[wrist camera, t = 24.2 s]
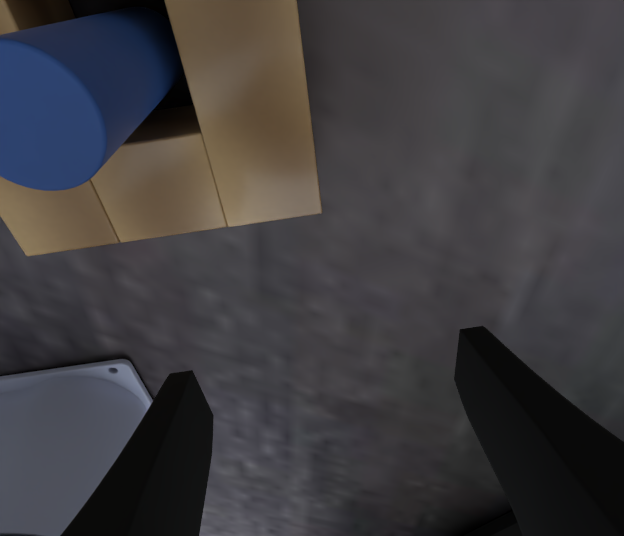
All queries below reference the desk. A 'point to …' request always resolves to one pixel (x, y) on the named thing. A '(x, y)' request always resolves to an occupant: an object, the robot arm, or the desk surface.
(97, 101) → the handle
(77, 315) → the desk surface
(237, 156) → the holder
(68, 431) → the robot arm
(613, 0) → the desk surface
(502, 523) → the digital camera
